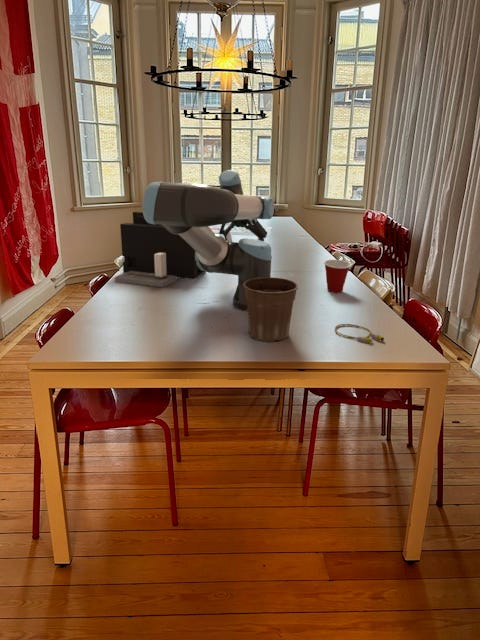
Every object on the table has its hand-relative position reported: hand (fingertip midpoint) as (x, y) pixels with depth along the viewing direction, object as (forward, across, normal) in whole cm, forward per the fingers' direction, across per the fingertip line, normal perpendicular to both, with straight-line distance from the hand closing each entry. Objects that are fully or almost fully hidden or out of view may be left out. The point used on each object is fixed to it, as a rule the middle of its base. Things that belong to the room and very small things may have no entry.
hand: (246, 246), depth 195 cm
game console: (+18, +40, +2) cm, 44 cm away
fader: (+1, +33, +20) cm, 38 cm away
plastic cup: (+13, -38, +8) cm, 41 cm away
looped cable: (-13, -53, +46) cm, 71 cm away
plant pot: (-20, -28, +54) cm, 64 cm away
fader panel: (+3, +39, +22) cm, 45 cm away
